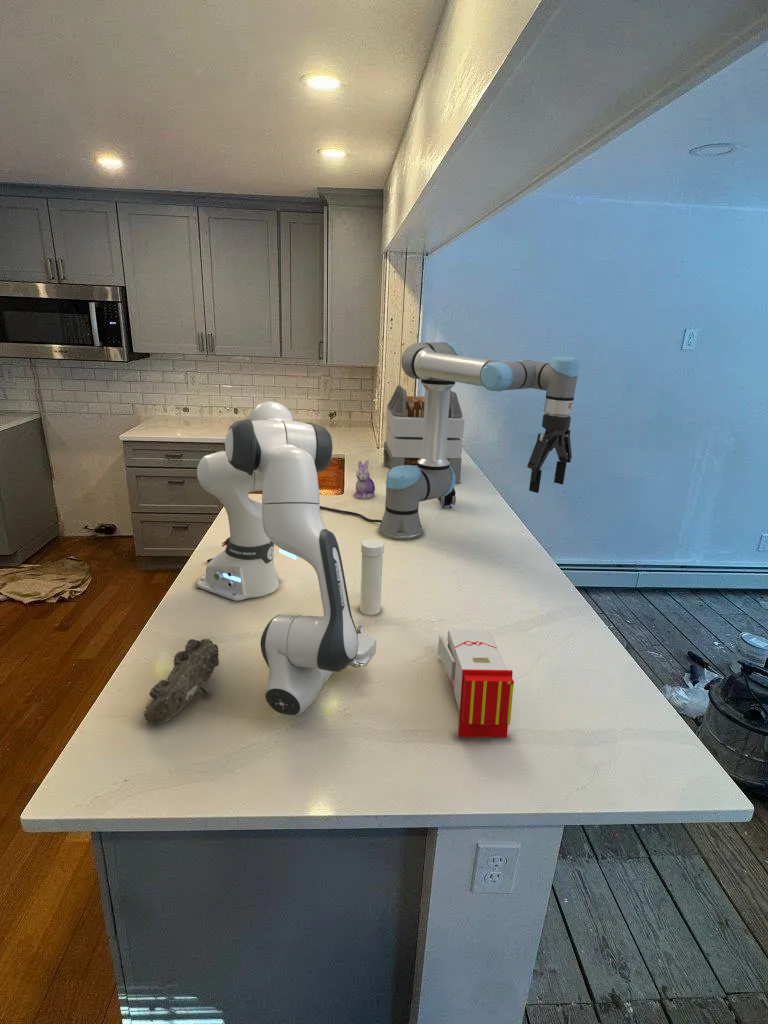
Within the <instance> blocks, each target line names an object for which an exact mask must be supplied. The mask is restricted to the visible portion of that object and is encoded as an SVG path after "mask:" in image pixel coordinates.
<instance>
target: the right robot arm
mask: <svg viewBox="0 0 768 1024" xmlns="http://www.w3.org/2000/svg"><path fill="white" fill-rule="evenodd" d="M400 365H401V368H402V371H403V372H404V373H405V375H406V376H408V377H409V378H412V379H413V380H420V384H421V385H422V386H423V388H424V397H425V402H424V422H423V442H422V457H421V458H420V459H419V460H417V466H413V465H401V466H397V467H394V468H392V469H390V468H389V470H388V472H387V475H386V479H385V504H384V505H385V507H384V508H385V509H384V513H383V515H382V519H373V518H368V517H366V516H365V515H363V514H361V513H358V512H355V511H349V510H343V509H342V510H341V509H336V508H331V507H327V506H322V505H320V510H325V511H330V512H335V513H340V514H346V515H352V516H356V517H359V518H361V519H362V520H365V521H367V522H369V523H379V526H378V533H379V534H380V535H381V536H382V537H385V538H387V539H389V540H395V541H410V540H415V539H418V538H420V537H421V536H422V535H423V525H422V524H421V518H420V515H419V507H420V506H419V505H420V503H421V502H425V501H429V500H435V499H438V498H441V497H443V496H446V495H448V494H449V493H450V492H451V491H452V490H453V488H454V489H455V485H456V483H455V473H453V469H452V467H450V462H449V461H448V460H447V459H446V448H447V432H448V417H449V402H450V390H452V389H453V387H455V385H456V383H461V384H464V385H465V384H466V385H471V386H476V387H477V386H478V387H483V388H484V389H486V390H487V391H490V392H504V391H511V390H527V389H534V390H540V391H545V400H544V407H543V413H544V414H543V415H542V421H541V427H542V428H543V429H544V430H545V431H544V433H538V434H537V438H536V442H535V444H534V447H533V450H532V452H531V455H530V457H529V459H528V462H527V465H526V466H527V468H528V469H530V470H531V471H530V472H531V474H530V479H529V486H528V491H529V492H533V493H536V494H538V493H540V487H541V479H542V474H543V473H542V472H543V470H542V467H543V465H544V463H545V461H546V459H547V458H548V456H549V454H550V452H552V451H553V450H554V449H555V452H556V455H557V459H558V460H557V461H556V466H555V472H554V479H553V483H555V484H558V485H564V483H565V476H566V469H567V463H568V464H570V463H571V461H572V458H573V455H572V454H573V453H572V443H571V429H570V428H571V422H572V421H571V420H572V417H571V416H570V415H572V414H573V413H572V412H573V408H574V407H575V405H574V400H575V393H576V388H577V383H578V378H579V369H580V361H579V359H578V358H577V357H573V356H572V357H571V356H559V355H557V356H552V357H551V359H550V362H545V361H537V360H532V359H519V360H517V361H501V360H493V359H485V358H484V359H483V358H479V357H471V356H465V355H464V356H463V353H462V351H461V350H460V348H459V347H458V346H457V345H456V344H454V343H451V342H445V341H441V342H440V341H439V342H438V341H437V342H415V343H412V344H410V345H408V347H405V350H404V351H403V352H402V355H401V359H400Z"/></svg>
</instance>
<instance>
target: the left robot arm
mask: <svg viewBox="0 0 768 1024" xmlns="http://www.w3.org/2000/svg"><path fill="white" fill-rule="evenodd" d="M332 455H333V440H332V435H331V433H330V432H329V431H328V430H327V428H326V427H324V426H323V425H320V424H317V423H314V422H307V421H306V422H302V421H295V420H294V418H293V415H292V413H291V411H290V410H289V409H288V408H287V407H286V406H285V405H283V404H281V403H279V402H277V401H263V402H261V403H259V404H258V405H256V406H255V407H254V408H253V409H252V410H251V412H250V413H249V414H248V416H247V417H246V419H240V420H235V421H233V422H232V423H231V425H230V426H229V428H228V430H227V432H226V435H225V439H224V450H221V451H217V452H213V453H210V454H206V455H203V456H202V458H201V459H200V460H199V462H198V465H197V469H196V478H197V481H198V483H199V485H200V486H201V488H202V489H203V490H204V491H206V492H207V494H210V495H211V496H213V497H215V498H216V499H217V500H218V501H219V503H221V505H222V506H223V508H224V509H225V512H226V514H227V520H228V527H229V537H227V538H226V539H225V540H224V541H223V542H222V543H221V544H222V545H221V547H222V548H223V547H225V546H226V547H225V549H224V550H223V551H221V552H220V553H219V554H217V555H216V556H214V557H212V558H209V559H207V560H206V563H207V565H206V567H205V573H204V574H202V576H200V577H199V579H198V581H197V583H196V584H197V585H196V587H197V588H198V589H201V590H204V591H206V592H210V593H213V594H216V595H218V596H221V597H223V598H226V599H229V600H232V601H236V602H238V601H239V602H240V601H242V600H243V601H244V600H246V599H251V598H252V599H253V598H260V597H264V596H267V595H269V594H272V593H274V592H275V591H276V590H278V589H279V587H280V581H279V578H278V575H277V571H276V566H275V561H274V560H275V559H274V558H275V546H276V547H278V548H279V553H280V554H282V555H284V556H286V557H289V558H291V559H293V560H297V557H299V558H301V559H303V560H304V561H305V562H307V563H308V564H309V565H310V566H311V567H312V568H313V569H314V571H315V573H316V576H317V582H318V587H319V593H320V599H321V605H322V610H323V611H322V612H323V615H303V614H286V613H285V614H282V613H281V614H276V615H274V616H273V617H272V618H271V619H270V621H269V622H268V623H267V625H266V626H265V627H264V630H263V631H262V634H261V637H260V651H261V654H262V657H263V660H264V661H265V664H266V666H267V668H268V680H267V684H266V686H265V691H264V692H265V693H264V697H265V701H266V703H267V705H268V706H269V707H270V708H271V709H272V710H273V711H274V712H276V713H279V714H280V715H284V716H285V715H286V716H297V715H299V714H301V713H302V712H304V711H305V710H306V709H307V708H308V707H309V706H310V705H311V704H312V703H313V702H314V700H315V699H316V698H317V696H318V695H319V693H320V692H321V690H322V688H323V686H324V684H325V683H326V682H328V680H329V679H330V677H331V676H332V675H333V674H334V673H339V672H341V671H342V670H345V668H347V667H349V666H350V667H352V668H356V669H358V668H362V667H367V666H368V664H369V663H370V661H371V660H372V659H373V658H374V656H375V655H376V654H377V646H378V645H377V640H376V639H375V637H373V636H369V635H366V626H362V625H358V626H357V627H356V624H355V622H354V621H355V620H354V618H353V614H352V611H351V604H350V600H349V599H350V598H349V595H348V589H347V588H348V587H347V583H346V576H345V571H344V566H343V560H342V555H341V550H340V546H339V543H338V540H337V537H336V535H335V534H334V533H333V532H332V531H330V530H328V528H327V527H326V524H325V523H324V520H323V517H322V514H321V509H320V506H321V504H320V503H321V501H320V486H319V479H318V473H320V472H324V471H325V470H326V469H327V468H328V466H329V465H330V464H331V460H332ZM259 491H260V492H261V491H262V492H261V493H262V495H261V502H258V501H256V500H253V499H250V496H249V494H250V493H251V492H259Z"/></svg>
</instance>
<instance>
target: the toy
mask: <svg viewBox="0 0 768 1024" xmlns="http://www.w3.org/2000/svg"><path fill="white" fill-rule="evenodd" d="M446 640H447V643H446V641H445V639H444V636H443V635H442V634H439V637H438V646H437V656H438V657H439V659H440V661H441V663H442V666H443V668H444V670H445V672H446V674H447V677H448V679H449V681H450V684H451V687H452V690H453V693H454V697H455V701H456V705H457V708H458V711H459V714H458V715H459V716H458V730H457V731H458V732H457V737H458V738H508V731H509V726H510V725H511V717H512V707H513V697H514V696H513V695H514V684H515V680H514V679H513V673H514V671H513V670H512V669H508V667H507V665H506V662H505V661H504V659H503V658H502V655H501V653H500V651H499V649H498V647H497V643H496V639H495V637H494V635H493V634H491V632H490V631H489V629H467V628H466V629H465V628H463V629H461V628H460V629H459V628H448V630H447V639H446Z"/></svg>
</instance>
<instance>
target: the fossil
mask: <svg viewBox="0 0 768 1024" xmlns="http://www.w3.org/2000/svg"><path fill="white" fill-rule="evenodd" d="M184 648H185V649H184V650H179V651H177V652H176V654H175V655H174V656H173V658H174V659H173V668H172V670H170V673H169V674H168V676H167V678H166V679H161V680H159V681H158V683H155V685H154V686H153V687H152V688H150V691H149V693H148V695H149V697H150V698H152V700H151V701H150V702H149V704H148V705H146V707H145V710H144V718H145V721H146V722H149V723H151V724H158V723H164V722H165V723H166V722H168V721H170V720H171V718H172V717H174V716H175V715H176V714H177V713H179V712H180V711H181V710H182V709H183V708H184V707H185V706H186V705H187V704H188V703H189V702H190V701H192V699H193V698H194V696H195V694H197V693H198V692H199V691H202V693H204V694H205V695H208V691H207V690H206V689H205V688H204V687H202V686H203V685H204V683H205V684H206V683H208V682H209V680H210V679H211V677H212V675H213V673H214V671H215V669H216V668H217V667H218V666H219V664H220V660H219V659H220V658H219V656H220V653H219V652H220V650H219V646H218V645H217V644H216V643H214V642H213V640H212V639H210V638H203V639H201V640H198V639H195V638H190V639H188V640H187V643H186V644H185V647H184Z"/></svg>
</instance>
